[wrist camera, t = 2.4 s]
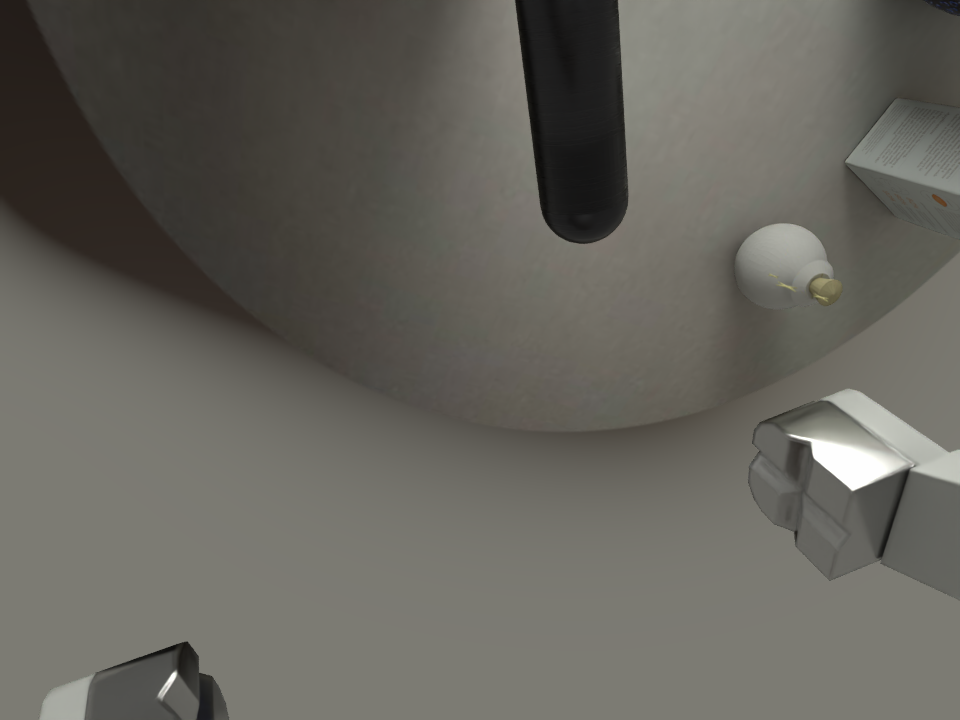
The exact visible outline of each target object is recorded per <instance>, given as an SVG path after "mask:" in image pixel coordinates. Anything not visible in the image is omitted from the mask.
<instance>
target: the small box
mask: <svg viewBox="0 0 960 720" xmlns="http://www.w3.org/2000/svg"><path fill="white" fill-rule="evenodd" d="M845 164H846V165H847V166H848V167H849V168H850V169H851V170H852V171H853V172H854V173H855V174H856V175H857V176H858V177H859V178H860V179H861V181H862V182H864V184H865V185H866V186H867V187H868V188H869V189H870V190H871V191H872V192H873V193H874V194H875V195H876V196H877V197H878V198H879V199H880V200H881V201H882V202H883V203H884V204H885V205H886V206H887V208H888V209H889V210H890V211H891V212H892V213H893V214H894V215H895V216H896V217H897V218H900V219H902V220H905V221H908V222H911V223H914V224H916V225H919V226H922V227H925V228H928V229H931V230H933V231H936V232H939V233H942V234H945V235H948V236H950V237H953V238H956V239H959V240H960V107H955V106H949V105H942V104H935V103H928V102H921V101H915V100H908V99H902V98H896V99H895V100H894V101H893V103H892V104H891V105H890V106H889V108H888V109H887V110H886V111H885V113H884V114H883V115H882V116H881V118H880V119H879V120H878V121H877V123H876V124H875V125H874V126H873V128H872V129H871V130H870V131H869V132H868V134H867V135H866V136H865V137H864V139H863V140H862V141H861V142H860V144H859V145H858V146H857V147H856V148H855V150H854V151H853V152H852V153H851V155H850V156H849V157H848V158H847V159H846V161H845Z"/></svg>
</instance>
